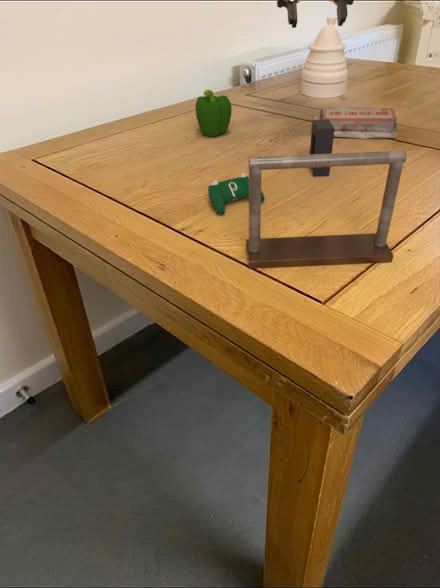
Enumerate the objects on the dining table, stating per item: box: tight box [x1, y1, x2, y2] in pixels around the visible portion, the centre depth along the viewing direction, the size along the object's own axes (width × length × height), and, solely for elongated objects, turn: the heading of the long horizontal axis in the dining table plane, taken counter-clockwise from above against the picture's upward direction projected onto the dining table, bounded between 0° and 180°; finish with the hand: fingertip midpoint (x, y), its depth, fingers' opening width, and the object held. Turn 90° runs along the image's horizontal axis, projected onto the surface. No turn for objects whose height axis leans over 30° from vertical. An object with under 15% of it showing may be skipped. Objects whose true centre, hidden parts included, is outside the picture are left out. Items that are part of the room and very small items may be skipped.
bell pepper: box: [194, 89, 232, 138], centre depth 106 cm, size 8×8×10 cm
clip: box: [309, 119, 335, 178], centre depth 87 cm, size 5×3×9 cm, turn 2°
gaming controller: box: [207, 172, 266, 215], centre depth 80 cm, size 9×4×6 cm
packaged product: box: [313, 106, 398, 140], centre depth 105 cm, size 18×5×10 cm
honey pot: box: [299, 16, 349, 99], centre depth 128 cm, size 13×13×18 cm
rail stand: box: [245, 149, 407, 270], centre depth 63 cm, size 20×6×15 cm, turn 92°
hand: (318, 23), depth 85 cm, fingers open, 8 cm apart
